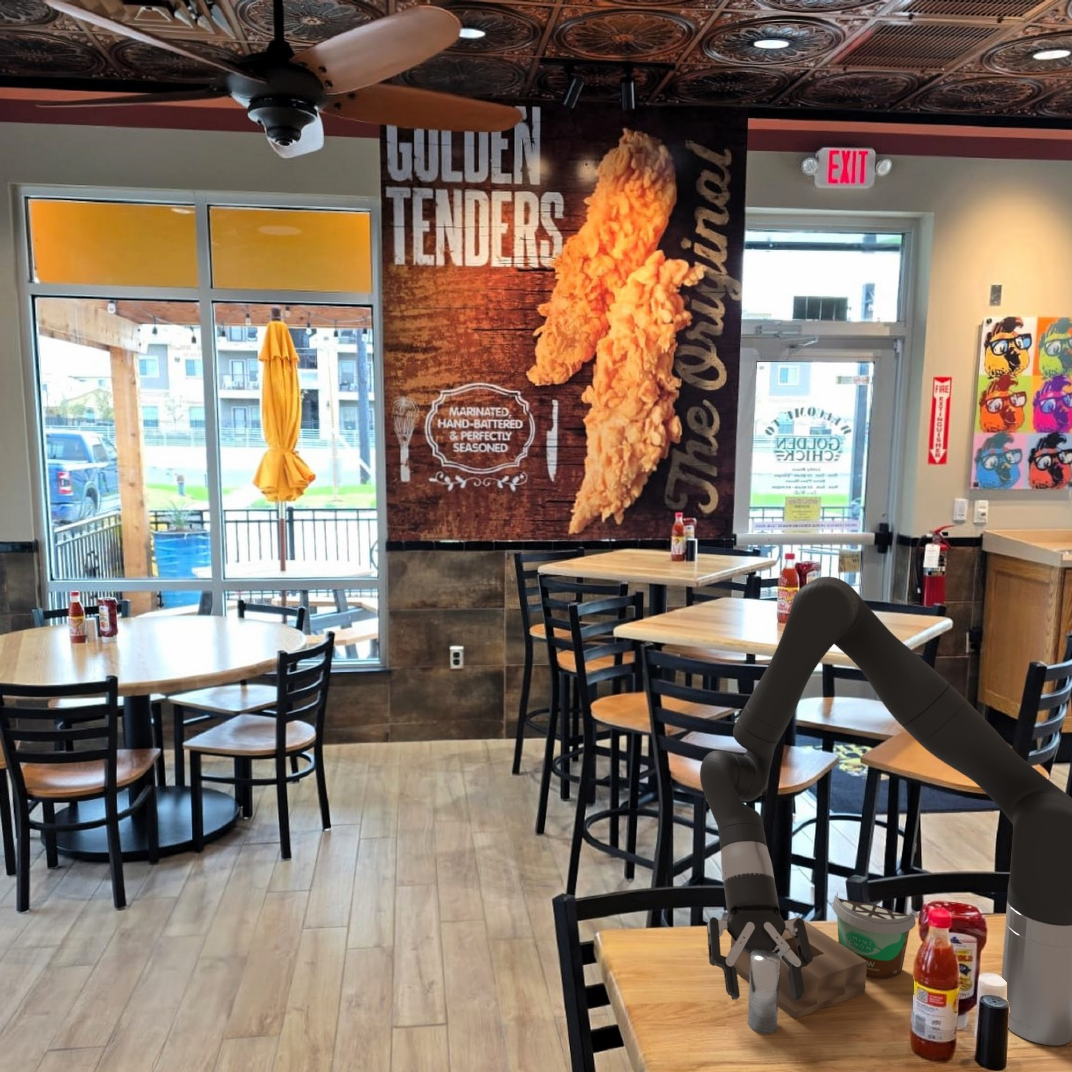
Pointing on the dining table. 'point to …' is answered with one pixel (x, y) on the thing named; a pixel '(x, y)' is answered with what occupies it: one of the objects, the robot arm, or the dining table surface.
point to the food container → (874, 935)
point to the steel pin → (763, 991)
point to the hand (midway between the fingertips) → (766, 998)
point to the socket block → (816, 974)
